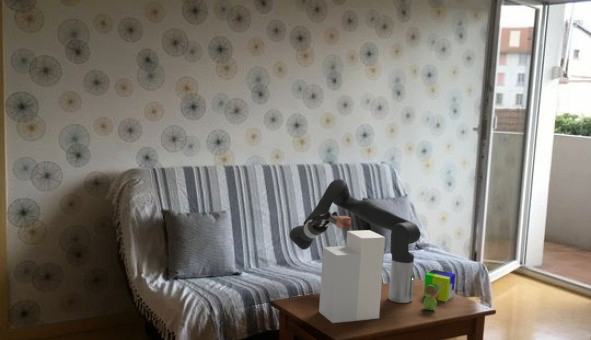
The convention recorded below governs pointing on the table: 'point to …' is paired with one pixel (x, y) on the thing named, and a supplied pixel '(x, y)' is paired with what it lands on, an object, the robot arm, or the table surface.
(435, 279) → the puzzle toy
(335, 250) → the step stand
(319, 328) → the table surface
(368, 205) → the robot arm
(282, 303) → the table surface
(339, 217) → the marker bar
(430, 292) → the snail figurine
